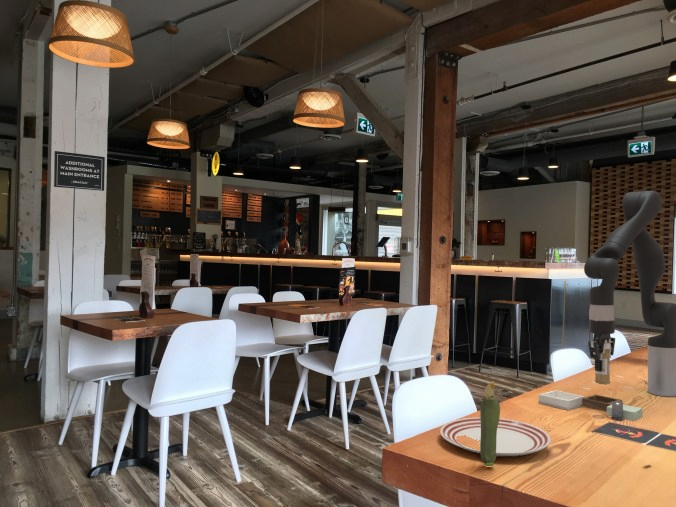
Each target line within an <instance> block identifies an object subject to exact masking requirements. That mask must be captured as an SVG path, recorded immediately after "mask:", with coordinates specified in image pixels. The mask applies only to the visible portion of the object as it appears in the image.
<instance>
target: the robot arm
mask: <svg viewBox="0 0 676 507" xmlns="http://www.w3.org/2000/svg"><path fill="white" fill-rule="evenodd" d="M662 199H663V198H662V196H661V195H660V193H659V192H658V191H655V190H643V191H642V190H641V191H630V192H627V193H625V194H624V196H623V197H622V201H621V202H622V204H621V206H622V211H623V215H624V219H625V222H624V223H623V224H622V225H620V226H618V227H617V228H616V229H615V230H613V231H612V232H611V233H610V234H609V236H608V237H607V238H606V240H605V241H604V243H603V245H602V246H601V247H600V248H598V249H597V250H596V251H595V252H594V253H593V254H591V255H590V256H589V257H588V258H587V260H586V261H585V262H584V263H585V264H584V267H583V272H584V275H585V276H586V277H587V278H588V279H589V278H590V279H591V280H601V282H600V284H599V285H597V286H592V287H590V290H589V310H588V311H589V313H588V316H589V318H588V319H589V321H588V323H589V324H588V325H589V326H588V327H589V332H590V334H591V333H592V334H593V336H592V340H588V343H587V344H588V350H589V355H590V356H589V357H590V358H591V359H593V360H594V372H595V371H599V372H601V371H602V358H603V354H604V353H605V345H606V344H607V343H610V350H609V363H611V362H610V361H611V360H610V359H611V357H612V356H614V353H615V344H616V338H615V337H612V336H611V335H613V334H615V333H616V330H615V327H616V326H615V324H616V322H615V319H616V317H615V313H616V312H615V307H614V306H615V305H614V304H615V300H614V297H615V294H614V293H615V289H616V285H617V282H618V279H619V275H620V265H619V263H618V261H619V260H621V259H623V257H624V255H625V254H626V252H627V250H628V249H629V247H632V252H633V259H634V264H635V265H634V266H635V269H636V274H637V279H638V285H639V291H640V301H641V302H640V303H641V314H642V319H643V321H644V323H645V325H646V326H649V327H653V328H663V332H662V333H661V334H658V335H653V336H650V337H648V338H647V393H649V394H650V395H656V396H660V397H661V396H662V397H676V303H674V302H664V301H663V302H662V301H656V299H655V298H656V297H655V292H656V288H657V286H658V284H659V282H660V280H662V277H663V276H664V274H665V271H666V261H665V255H664V254H665V253H664V251H663V248H662V246H661V245H660V244H659V243H658V242H657V240H656V239H655V238H654V237H653V236H652V235H651V234H650V233H649V231H648V230H647V228H646V227H648V225H649V224H650V223H651V222H652V221H653V220H654V219H655V218H656V216H658V214H659V213H660V211H661V209H662V206H663V200H662ZM631 245H632V246H631ZM598 348H599V349H602V350H598ZM599 353H600V356H599Z"/></svg>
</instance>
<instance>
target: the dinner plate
mask: <svg viewBox="0 0 676 507" xmlns="http://www.w3.org/2000/svg"><path fill="white" fill-rule="evenodd" d="M439 432H440V435H441V437H442V438H443V439H444V441H445V440H446V441H447V442H448V443H450V444H452V445H454V446H457V447H459V448H461V449H463V450H467V451H469V452H473V453H475V452H476V454H479V453H481V452H480V450H476V449H472V448H469V447H466V446H464V445H462V444H460V443H459V442H457V441H456V439H457V438H456V437H457V436H462V435H463V436H464V435H466V436H467V437H470V438H472V439H474V440H476V439H477V441H479V440H480V439H481V420H480V416H479V417H477V416H476V417H468V418H466V417H465V418H459V419H456V420H452V421H449V422H447V423H445V424H443V426H442V427H440V431H439ZM479 443H480V442H479ZM479 443H478V444H479ZM550 444H551V436H550V434H548V433H547V432H546V431H545V430H543V429H541V428H540V427H537V426H535V425H532V424H530V423H526V422H523V421H518V420H512V419H507V418H500V417H499V423H498V427H497V435H496V457H498V456H512V457H519V455H520V456H525V455H530V454H534V453H537V452H540V451H542V450H544V449H545V448H547V447H548V446H549V445H550ZM479 446H480V445H479Z"/></svg>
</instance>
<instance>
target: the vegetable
mask: <svg viewBox="0 0 676 507" xmlns="http://www.w3.org/2000/svg"><path fill="white" fill-rule="evenodd" d="M495 384H496V382H495V381H494V380H492V381H490V382H489V383H488V384H487V386H486V387H485V389H484V394H485V397H483V399H482V400H481V403H480V406H479V407H480V408H479V412H480V416H479V417H480V420H481V439H480V452H481V454H480V459H481V461H482V462H483V465H484V466H485V465H486V466H493V465H494V464H495V461H496V459H497V456H496V435H497V427H498V423H499V418H500V415H501V414H500V413H501V406H500V402H499V400H498V398H496V397H495V389H496V385H495ZM493 467H494V466H493Z"/></svg>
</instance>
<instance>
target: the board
mask: <svg viewBox="0 0 676 507" xmlns="http://www.w3.org/2000/svg"><path fill="white" fill-rule="evenodd" d="M643 411H644V410H643V408H642V407H640V406H639V407H638V406H632V405H628V404H623V420H628V421H631V422H636V421H638V420H639V419H641V418H643V413H644V412H643ZM606 416H607V417H612V405H610V406H608V407H607V412H606Z"/></svg>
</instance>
